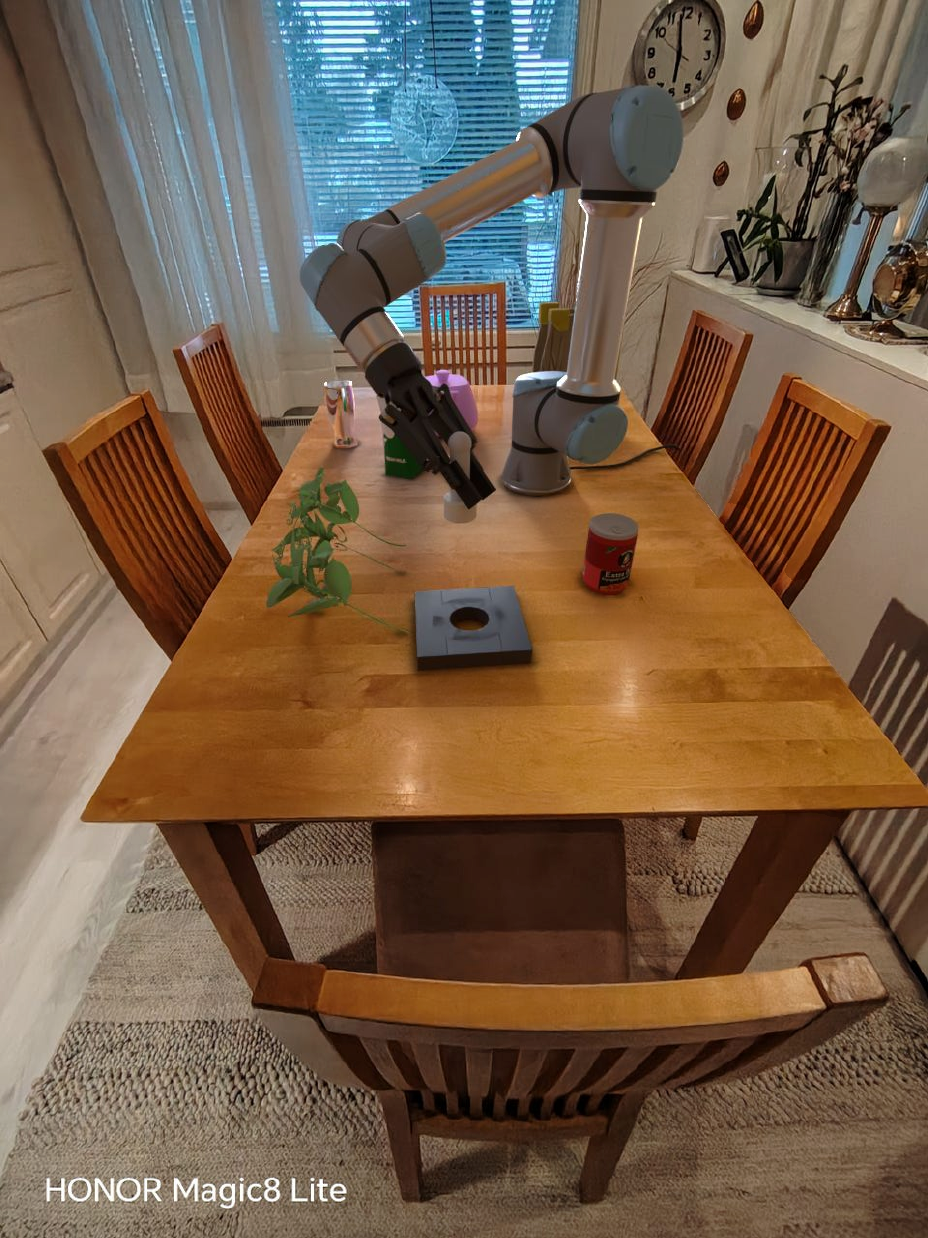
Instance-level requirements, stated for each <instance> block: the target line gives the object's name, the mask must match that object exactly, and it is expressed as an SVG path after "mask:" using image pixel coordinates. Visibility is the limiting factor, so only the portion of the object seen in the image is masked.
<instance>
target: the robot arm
mask: <svg viewBox="0 0 928 1238" xmlns="http://www.w3.org/2000/svg"><path fill="white" fill-rule="evenodd" d="M683 145H684V123H683V119H682V114H681V111H680V109H679V108H678V106H677V101H676V100H675V98H674V96H672V95H671V93H670V92H669V91H667V89H665V88H663V87H661V86H657V85H642V84H638V85H629V86H627V87H621V88H616V89H611V90H605V91H600V92H589V93H587V94H584V95H581V96H579V97H577V98H576V97H575V98H574V99H572V100H569V102H567V103H565V104H564V105H562V106H560V107H559V108H556V109H554V110H553V111H551V112H549V113H548V114H546V115H545V116H543V117H541V118H540V119H538V120H537V121H534V122H533V123H531V124H529V125H527V126H525V127H524V128H522V129H521V130H520V131H519V132H518V134H517V137H516V140H515V141H513V142H512V143H509V144H508V145H506V146H504V147H502V148H500V149H498V150H496V151H494V152H493V153H491V154H489V155H486V156H485V157H483V158H481V159H478V160H477V161H475V162H473V163H471V164H470V165H468V166H466V167H464V168H462V169H460V170H458V171H456V172H453V174H450V175H449V176H447V177H445V178H443V179H441V180H439V181H437V182H435V183H433V184H431V185H429V186H427V187H426V188H424V189H422V190H420V191H418V192H416V193H414V194H412V195H410V196H409V197H406V198H404V199H403V200H401V201H399V202H397V203H395V204H393V205H391V206H389V207H387V208H386V209H384V210H382V211H380V212H378V213H375V214H373V215H372V216H370V217H368V218H367V219H355V220H353V221H349V222H348V223H346V224H345V225H343V226H342V228H341V229H340V230H339V232H338V235H337V238H336V242H329V243H328V244H321V245H319V246H317V247H316V248H315V249H313V250H312V251H311V252H310V253H309V254H308V255H307V256H306V257H305V259H304V260H303V262H302V264H301V265H300V269H299V282H300V284H301V287H302V289H303V290H304V291H305V293H306V295H307V297H308V298H309V299H310V301H311V302H312V304H313V306H314V309H315V310H316V311H317V312H318V313H319V314H320V316H321V317H322V318H323V320H324V321H325V323H326V324H327V325H328V327H329V328H330V330H331V331H332V332H333V334H334V336H335V337H336V338H337V339H338V341H339V342H340V344H341V346H342V347H343V348H344V350H345V351H346V353H347V354H348V356H350V358H351V360H352V361H353V363H354V364H355V365H356V367H357V369H358V370H359V371H360V372H361V373H363V374H364V378H365V380H366V381H367V383H368V385H369V386H370V388H371V389H372V390H373V391H374V393H375V394H376V395H377V396H378V397H380V398H384V399H385V403H386V405H387V406H386V408H385V409H384V410H383V411H382V413H381V412H380V414H379V415H378V420H379V421H380V422H381V424H382V423H384V424H385V425H386V426H387V427H389V428H390V429H391V430H392V431H393V432H394V433H395V435H396V436H397V437H398V438H399V440H400V441H401V442H402V443H403V445H404V446H405V447H406V448H407V450H408V451H409V452H410V453H411V455H412V456H413V457H414V458H415V460H416V461H417V462H418V463H419V464H420V466H421V467H422V468H423V471H424V472H426V473H429V472H431V473H432V474H433V475H438V474H440V475H441V476H442V478H443V479H444V481H445V482H446V483H447V485H448V486H449V488H452V489H453V490H455V491H456V492H457V494H458V495H459V497H460V498H461V500H462V501H463V502H464V504H465V505H466V507H467V508H468V510H469V509H471V508H472V507H473V506H475V505H476V504H477V505H478V503H480V502H481V501H485V500H486V499H488V498H489V497H490V496H491V495H492V494H494V493H495V492H496V491H497V488H496V487H495V485H494V484H493V482H492V480H491V479H490V478H489V476H488V475H487V473H486V472H485V469H484V467H483V465H482V464H481V462H480V461H479V459H478V458H477V456H476V455H475V453H474V451H473V450H475V448H476V447H477V445H476V444H477V443H478V439H477V437H476V435H475V434H474V432H473V431H471V429H470V427H469V426H468V424H467V422H466V421H465V419H464V417H463V416H462V414H461V412H460V411H459V409H458V407H457V406H456V404H455V402H454V401H453V399H452V397H451V394H450V390H449V387H448V386H447V385H446V384H445V383H443V384H442V385H441V386H440V387H437V386H432V384H431V383H430V381H429V380H427V379H426V378H425V376H424V375H423V371H422V367H423V366H422V362H421V360H420V359H419V357H418V356H417V354H416V353H415V351H414V350H413V349H412V347H411V345H410V344H409V343H407V342H405V336H404V335H403V333H402V332H401V330H400V329H399V328H398V327H397V325H396V323H395V322H394V321H393V319H392V318H391V317H390V315H389V313H388V312H387V310H386V309H385V308H386V307H388V306H389V305H390V304H392V303H393V302H395V301H396V300H398V299H400V298H401V297H403V296H405V295H407V294H408V293H409V292H411V291H413V290H414V289H416V288H418V287H419V286H421V285H422V284H424V283H426V282H429V281H430V279H431V278H433V277H434V276H435V275H437V274H438V273H439V272H441V271H442V270H443V269H444V268H445V266H446V263H447V249H446V245H445V243H446V242H449V241H450V240H452V239H454V238H455V237H457V236H459V235H461V234H463V233H465V232H466V231H469V230H470V229H472V228H474V227H476V226H478V225H480V224H481V223H483V222H485V221H488V220H489V219H491V218H493V217H495V216H497V215H498V214H500V213H502V212H504V211H506V210H508V209H510V208H511V207H513V206H515V205H517V204H518V203H521V202H523V201H525V200H527V199H528V198H530V197H532V196H533V197H534V198H537V199H542V198H545V197H547V196H548V195H550V194H553V193H555V192H558V191H562V190H568V189H578V188H580V189H579V199H578V203H579V204H580V206H581V208H582V209H583V211H584V212H585V215H586V221H585V230H584V237H583V244H582V245H583V246H582V253H581V259H580V269H579V274H578V275H579V276H578V283H577V290H576V291H577V292H576V297H575V298H576V300H575V306H574V308H575V314H574V322H573V329H572V337H571V345H570V353H569V360H568V368H567V372H560V371H544V372H534V373H532V372H528V373H524V374H522V375H520V376H518V377H516V379H515V381H514V384H513V391H512V396H511V397H512V417H511V418H512V419H511V420H512V421H511V422H512V423H511V444H510V445H511V446H510V450H509V452H508V455H507V458H506V461H505V463H504V466H503V469H502V472H501V473H502V474H501V484H502V485H503V486H504V488H506V489H507V490H509V491H511V492H513V493H515V494H519V495H522V496H530V497H547V496H548V497H549V496H553V495H558V494H560V493H563V492H565V491H567V489H569V488H570V486H571V483H572V470H574V471H575V470H598V469H600V470H601V469H612V468H619V467H622V466H626V465H628V464H630V463H632V462H634V461H637V460H639V459H641V458H642V457H644V456H645V455H647V454H649V453H652V452H656V451H659V450H663V449H669V448H672V449H675V450H676V451H679V452H680V451H682V449H681V448H680V447H679V446H678V445H676V444H664V445H659V446H656V447H653V448H649V449H647V450H645V451H643V452H641V453H640V454H638V455H635V456H634V457H632V458H630V459H628V460H625V461H623V462H618V463H613V464H603V465H597V464H601V463H602V462H604V461H606V460H607V459H609V458H610V457H611V456H612V455H613V453H614V452H617V450H618V449H619V448H620V446H621V444H622V443H623V441H624V440H625V438H626V435H627V432H628V427H629V419H628V415H627V414H626V411H625V410H624V408H622V407H621V406H620V404H619V402H620V397H621V392H622V387H621V385H620V384H619V383H618V381H617V379H616V380H615V372H616V366H617V360H618V355H619V349H620V343H621V337H622V332H623V333H624V329H623V326H624V327H625V322H624V320H625V321H626V315H625V314H627V308H628V303H629V296H630V291H631V285H632V279H633V274H634V268H635V262H636V257H637V251H638V245H639V239H640V233H641V227H642V222H643V219H644V217H645V215H646V214H647V213H649V212H650V210H651V209H652V208H653V207H655V205H656V200H657V194H658V189H660V188H661V187H662V186H664V185H665V184H666V183H667V182H668V181H669V180H670V179H671V175H672V174H673V173H675V171H676V169H677V168H678V165H679V162H680V159H681V155H682V152H683ZM622 338H623V337H622ZM433 409H434V410H433ZM430 413H431V414H430ZM429 414H430V415H429ZM434 430H435V431H436V433H437V434H438V435H439V437H437V435H436V433H435V431H434ZM455 432H464V433H466V434H467V435H468V436H469V437H470V439H471V448H470V479H469V478H468V476H467V475H466V474H465V472H464V471H463V469H462V468H461V466H460V465H459V463H458V462H457V461H456V460H454V461H452V462H451V463H450V455H449V454H448V452H447V451H446V449H445V447H444V445H443V444H442V442H443V443H445V445H446V446H447V447H448V448H449V446H448V441H449V438H450V436H451V435H452V434H453V433H455ZM440 439H441V440H442V442H441V440H440ZM569 459H570V460H572V461H574V462H579V463H581V464H583V465H577V466H576V465H573V466H570V464H569Z"/></svg>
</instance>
